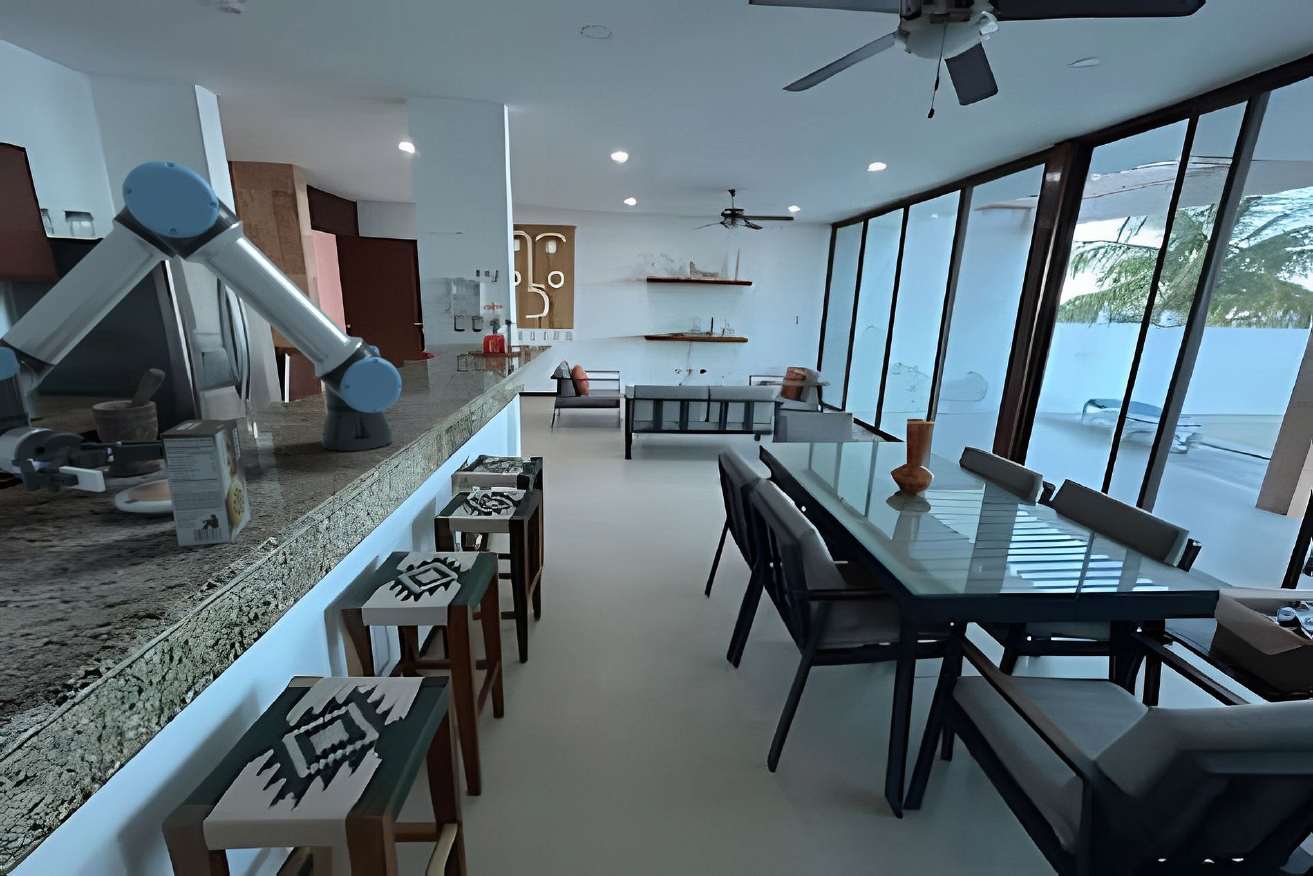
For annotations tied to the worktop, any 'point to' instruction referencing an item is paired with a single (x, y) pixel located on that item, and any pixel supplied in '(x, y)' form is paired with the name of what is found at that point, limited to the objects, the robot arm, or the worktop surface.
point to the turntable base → (156, 514)
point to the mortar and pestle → (131, 423)
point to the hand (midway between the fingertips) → (155, 468)
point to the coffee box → (206, 481)
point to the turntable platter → (145, 498)
